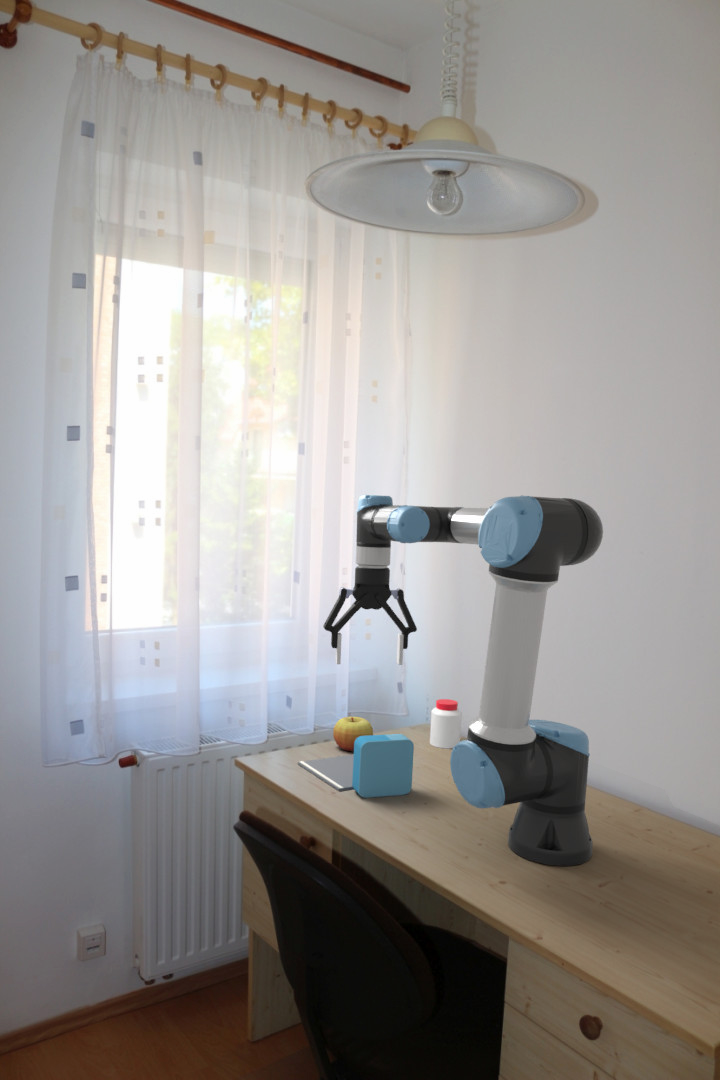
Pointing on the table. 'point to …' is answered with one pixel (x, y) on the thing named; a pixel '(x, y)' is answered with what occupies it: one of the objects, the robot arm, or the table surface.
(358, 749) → the light blue flat block
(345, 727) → the apple
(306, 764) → the mat
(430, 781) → the table surface
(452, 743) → the pill bottle
